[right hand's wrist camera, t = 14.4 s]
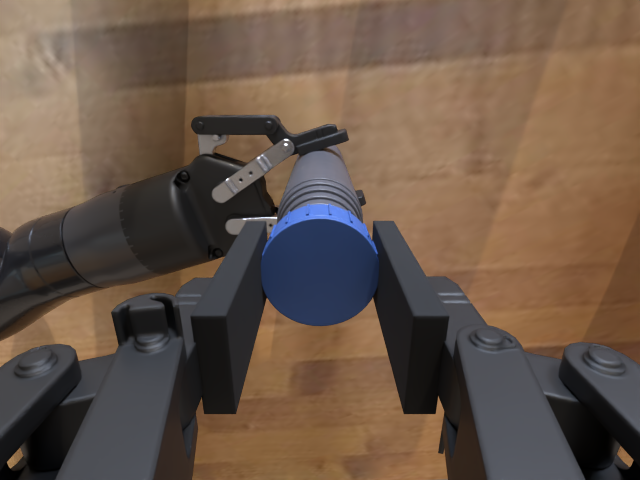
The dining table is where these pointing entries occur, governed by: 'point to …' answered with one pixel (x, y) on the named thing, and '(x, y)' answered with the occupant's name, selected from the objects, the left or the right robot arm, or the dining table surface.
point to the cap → (319, 265)
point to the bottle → (320, 184)
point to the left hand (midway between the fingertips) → (354, 166)
